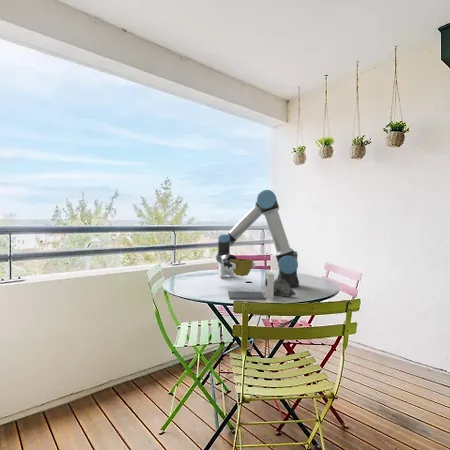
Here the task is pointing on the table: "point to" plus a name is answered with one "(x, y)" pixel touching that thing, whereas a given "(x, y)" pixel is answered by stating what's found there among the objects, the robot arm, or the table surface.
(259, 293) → the mat
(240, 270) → the flower pot
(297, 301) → the table surface
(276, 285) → the mineral rock
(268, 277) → the wall socket block
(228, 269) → the cable organizer
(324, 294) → the table surface
